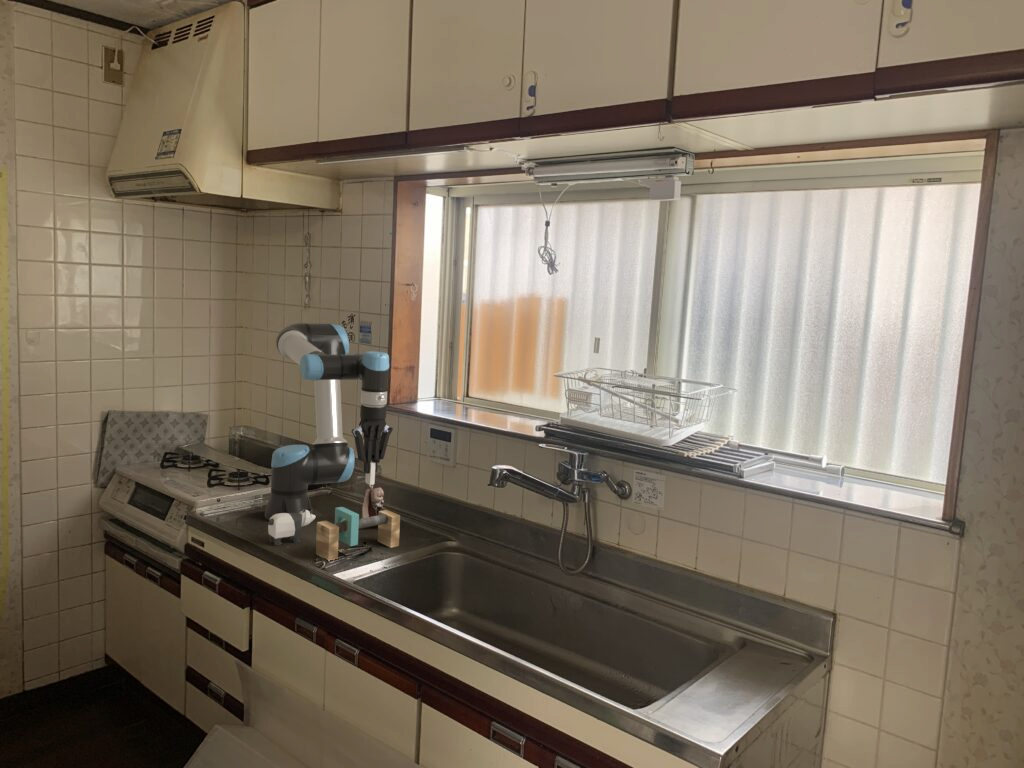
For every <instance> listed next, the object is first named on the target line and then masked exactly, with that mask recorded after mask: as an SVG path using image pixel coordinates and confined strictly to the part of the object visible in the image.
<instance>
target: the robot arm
mask: <svg viewBox="0 0 1024 768" xmlns="http://www.w3.org/2000/svg"><path fill="white" fill-rule="evenodd" d="M275 339H276V340H275V345H276V346H275V347H276V349H277V351H278V353H279V354H280V355H281V356H282V357H284V358H285V359H289V360H293V361H294V362H295V363H296V364H297V365H299V373H300V376H301V378H302V379H304V380H306V381H309V380H310V381H313V383H314V401H315V402H314V403H315V424H316V425H315V427H316V439H315V440H314V441H313V442H312V449H310V447H309V446H308V445H306V444H290V445H285V446H281V447H278V448H277V449H276V448H275V450H274V451H273V452H272V455H271V456H272V457H271V463H270V464H271V465H270V466H271V472H270V473H271V475H270V476H271V477H270V496H269V498H268V500H267V504H266V506H265V509H264V519H265V520H267V521H269V520H270V518H271V517H272V516H273V515H275V514H279V513H300V512H301V508H303V510H304V509H306V510H308V511H309V512H310V513H311V514H313V507H312V504H311V500H310V498H309V493H308V489H309V485H320V484H337V483H342V482H346V481H348V480H349V479H350V478H351V477H352V474H353V473H354V472H353V471H354V468H355V460H356V459H355V457H356V456H355V453H354V452H355V451H354V449H353V448H352V447H351V446H348V445H349V443H348V441H347V440H346V439H345V438H344V436H343V417H342V416H343V415H342V411H343V410H342V391H341V381H361V393H360V403H361V405H360V406H359V407H360V409H359V410H360V412H359V417H360V418H359V419H360V422H359V423H358V426H357V427H356V428H352V429H351V434H352V435H353V438H354V443H355V449H356V454H357V459H358V461H361V462H363V473H365V477H364V478H365V479H364V480H365V481H364V482H365V484H367V485H370V486H372V485H373V486H374V485H375V482H376V481H375V480H376V473H377V472H378V464H379V463H380V462H381V460H384V458H385V454H386V450H387V447H388V442H389V439H390V436H391V434H392V432H393V428H394V427H391V426H388V425H387V421H386V418H387V410H388V407H387V406H386V405H387V403H388V387H389V386H388V385H389V372H390V371H389V370H390V356H389V354H388V353H387V352H382V351H375V350H373V351H372V350H371V351H370V350H369V351H365V352H363V353H361V352H360V353H359V352H358V353H357V352H356V353H353V354H349V352H350V341H349V336H348V333H347V331H346V330H345V328H344V327H343V326H342V325H339V324H332V323H307V322H306V323H305V322H304V323H303V322H298V323H292V324H289V325H287V326H286V327H283V328H282V329H281V330H280V331H279V333H277V336H276V338H275ZM362 435H363V436H362Z"/></svg>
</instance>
